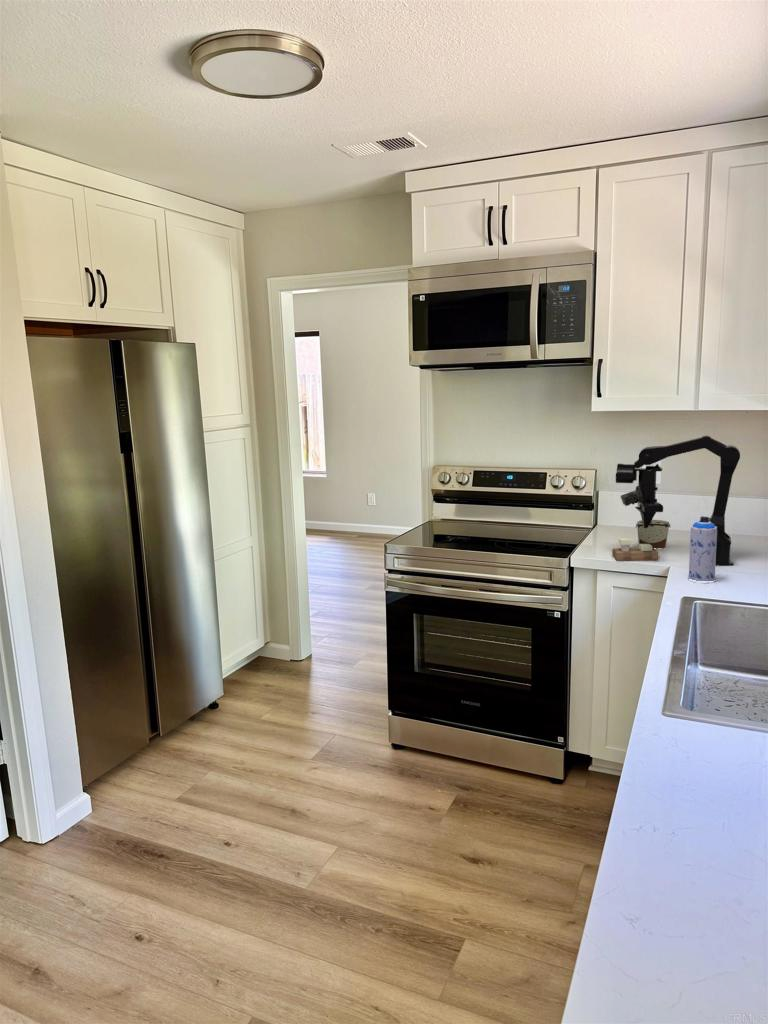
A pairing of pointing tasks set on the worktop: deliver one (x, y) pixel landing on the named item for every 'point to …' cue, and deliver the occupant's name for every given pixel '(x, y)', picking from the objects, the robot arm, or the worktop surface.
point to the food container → (653, 533)
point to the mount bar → (635, 555)
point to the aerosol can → (703, 550)
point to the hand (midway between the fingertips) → (645, 528)
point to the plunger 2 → (645, 547)
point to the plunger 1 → (625, 543)
